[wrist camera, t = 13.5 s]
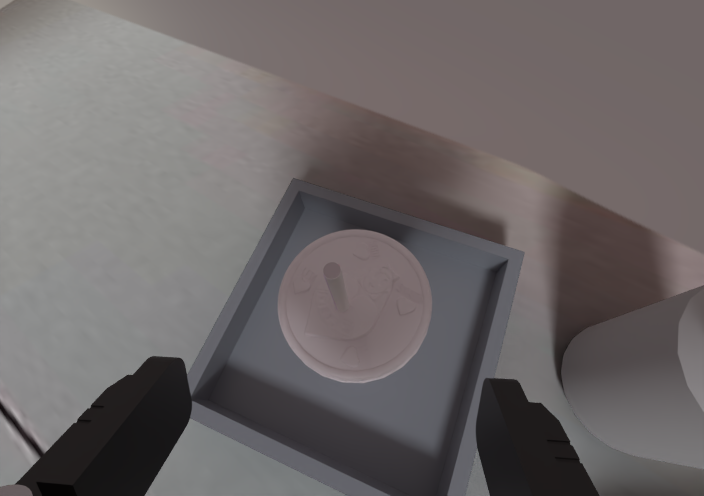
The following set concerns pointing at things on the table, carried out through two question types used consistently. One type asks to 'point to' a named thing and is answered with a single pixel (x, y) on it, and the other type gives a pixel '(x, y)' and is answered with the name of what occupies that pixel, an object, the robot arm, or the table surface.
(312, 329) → the smoothie
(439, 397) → the tray
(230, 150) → the table surface
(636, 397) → the can
